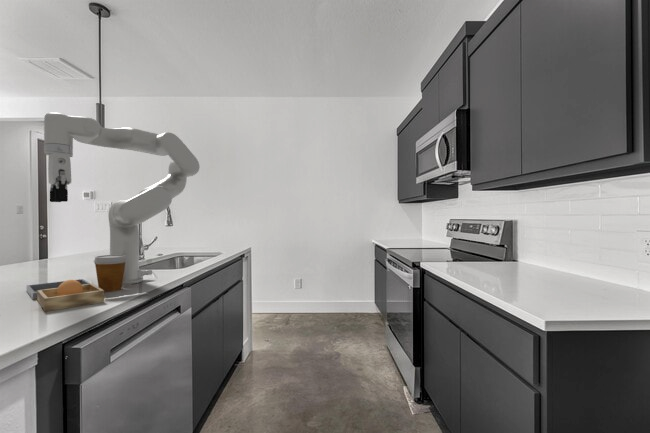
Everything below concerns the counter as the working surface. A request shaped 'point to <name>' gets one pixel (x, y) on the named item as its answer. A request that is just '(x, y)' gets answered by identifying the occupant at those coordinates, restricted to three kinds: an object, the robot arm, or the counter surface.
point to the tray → (69, 298)
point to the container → (47, 287)
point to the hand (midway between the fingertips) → (58, 201)
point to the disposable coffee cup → (110, 271)
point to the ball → (69, 288)
